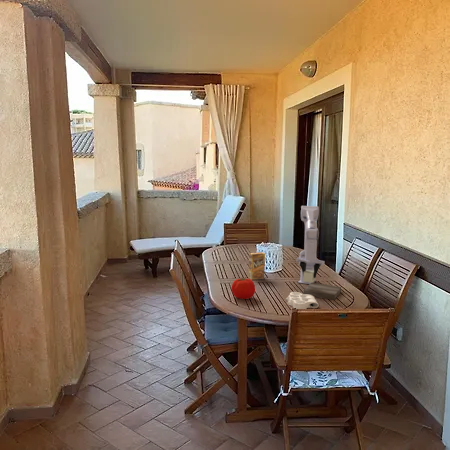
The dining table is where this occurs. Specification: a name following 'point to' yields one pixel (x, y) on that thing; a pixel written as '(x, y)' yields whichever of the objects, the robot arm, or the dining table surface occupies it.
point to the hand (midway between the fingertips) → (309, 276)
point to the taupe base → (322, 291)
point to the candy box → (256, 265)
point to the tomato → (243, 288)
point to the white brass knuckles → (301, 300)
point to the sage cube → (308, 276)
